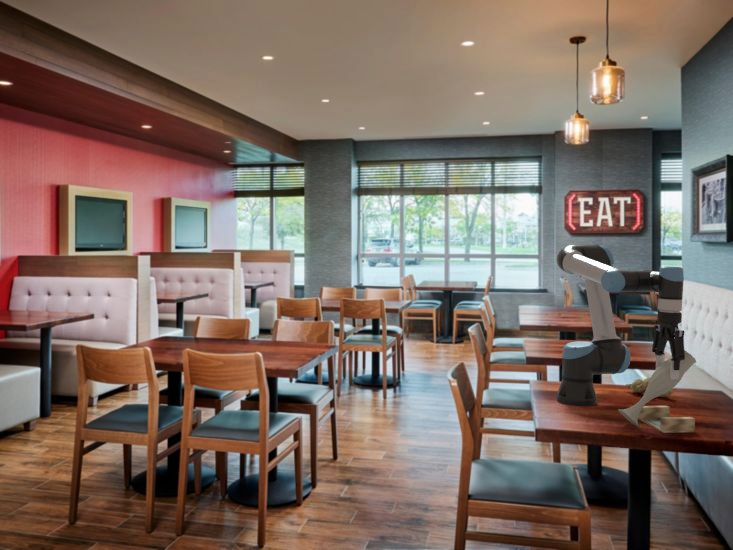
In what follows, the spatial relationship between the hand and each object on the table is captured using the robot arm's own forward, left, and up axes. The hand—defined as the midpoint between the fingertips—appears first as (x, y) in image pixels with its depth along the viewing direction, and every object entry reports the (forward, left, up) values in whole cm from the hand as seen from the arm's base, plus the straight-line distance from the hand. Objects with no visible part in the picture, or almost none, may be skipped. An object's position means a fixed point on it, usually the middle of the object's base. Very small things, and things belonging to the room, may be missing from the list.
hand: (666, 376), depth 211 cm
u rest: (0, 0, -17) cm, 17 cm away
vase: (-12, -7, -15) cm, 20 cm away
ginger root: (-5, +45, -18) cm, 48 cm away
